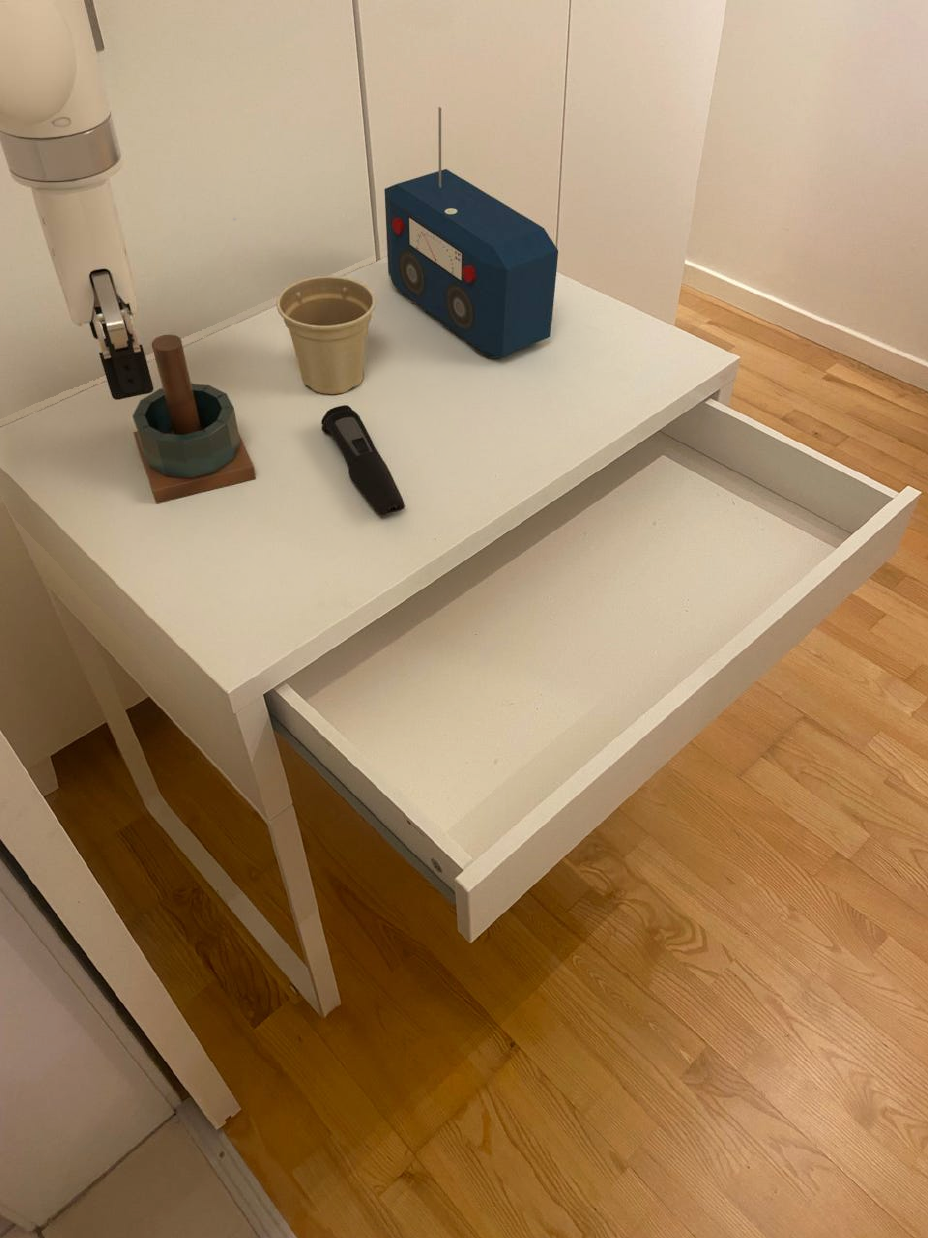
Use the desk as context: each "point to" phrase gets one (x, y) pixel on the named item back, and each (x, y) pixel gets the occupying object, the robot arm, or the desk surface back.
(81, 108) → the robot arm
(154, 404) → the ring
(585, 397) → the desk surface
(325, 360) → the flower pot
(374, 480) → the electric trimmer
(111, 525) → the desk surface
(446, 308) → the radio
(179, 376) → the stand
